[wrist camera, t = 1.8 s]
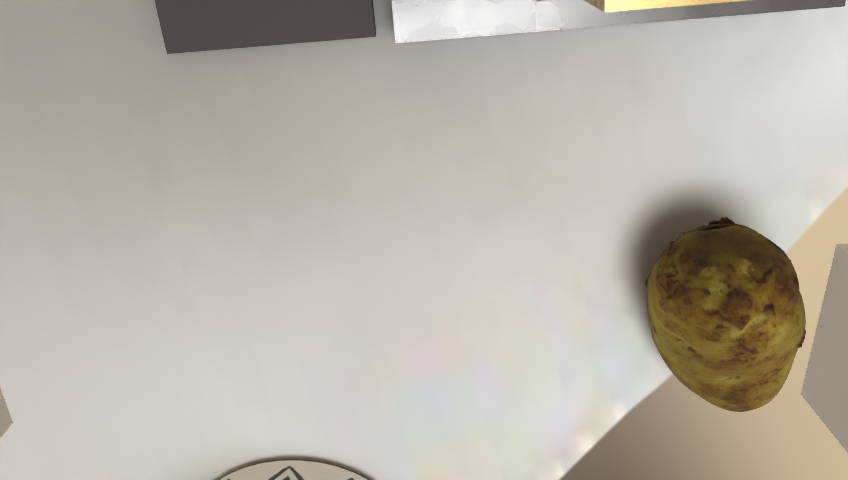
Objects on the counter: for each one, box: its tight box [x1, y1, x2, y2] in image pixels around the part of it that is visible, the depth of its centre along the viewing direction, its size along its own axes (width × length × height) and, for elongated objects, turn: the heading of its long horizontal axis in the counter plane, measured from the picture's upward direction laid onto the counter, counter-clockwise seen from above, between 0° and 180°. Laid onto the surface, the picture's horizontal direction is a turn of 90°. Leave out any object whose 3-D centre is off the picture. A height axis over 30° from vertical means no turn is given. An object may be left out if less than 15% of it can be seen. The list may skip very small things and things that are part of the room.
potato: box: [646, 217, 806, 412], centre depth 37 cm, size 8×13×8 cm, turn 4°
